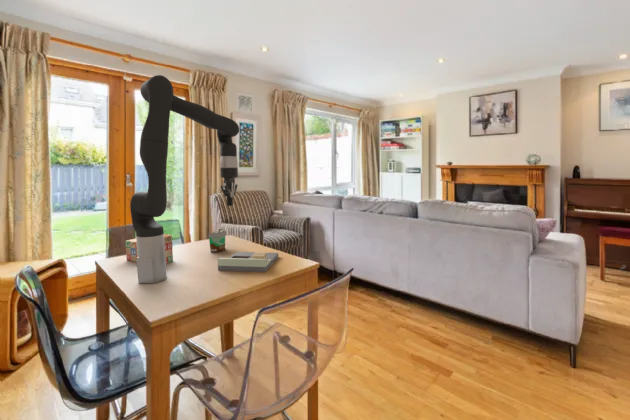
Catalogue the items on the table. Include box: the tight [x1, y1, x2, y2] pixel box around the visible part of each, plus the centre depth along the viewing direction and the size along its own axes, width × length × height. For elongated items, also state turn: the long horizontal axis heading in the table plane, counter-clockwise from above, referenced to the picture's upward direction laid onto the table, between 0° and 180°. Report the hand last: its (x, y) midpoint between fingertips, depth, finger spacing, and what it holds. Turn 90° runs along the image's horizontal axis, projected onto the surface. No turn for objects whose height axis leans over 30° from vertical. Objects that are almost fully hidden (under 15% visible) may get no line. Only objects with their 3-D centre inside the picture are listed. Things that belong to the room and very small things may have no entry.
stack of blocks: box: [124, 233, 174, 264], centre depth 149 cm, size 21×6×12 cm, turn 70°
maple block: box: [252, 252, 268, 262], centre depth 137 cm, size 5×5×4 cm
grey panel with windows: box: [217, 251, 279, 273], centre depth 144 cm, size 22×20×5 cm
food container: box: [208, 228, 228, 254], centre depth 166 cm, size 12×6×10 cm, turn 171°
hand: (230, 205), depth 149 cm, fingers closed
